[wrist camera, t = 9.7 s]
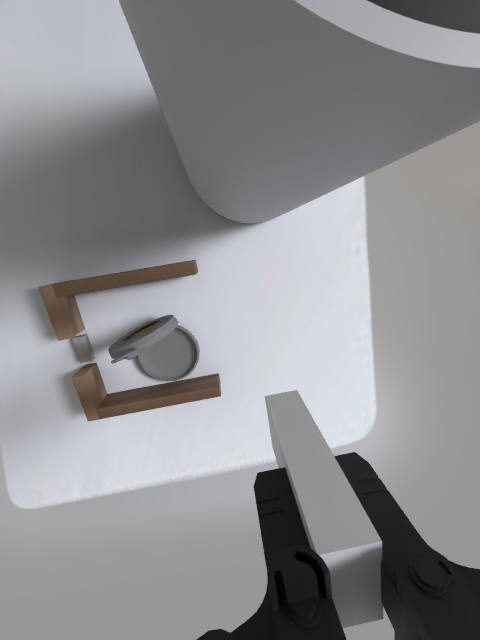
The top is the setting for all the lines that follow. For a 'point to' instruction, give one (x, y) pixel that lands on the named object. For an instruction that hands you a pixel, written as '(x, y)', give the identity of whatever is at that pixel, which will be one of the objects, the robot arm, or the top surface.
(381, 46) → the cylinder vase
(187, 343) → the pocket watch
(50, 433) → the top surface
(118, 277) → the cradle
